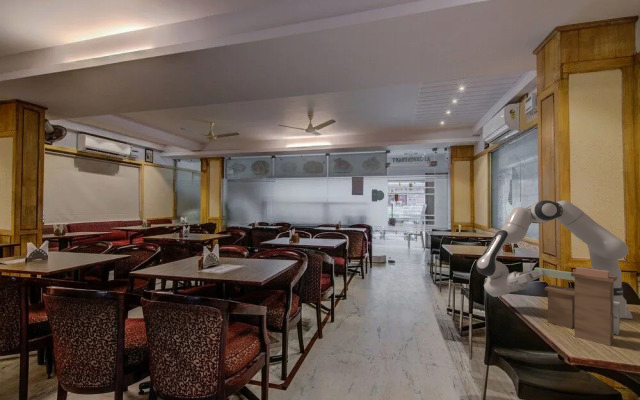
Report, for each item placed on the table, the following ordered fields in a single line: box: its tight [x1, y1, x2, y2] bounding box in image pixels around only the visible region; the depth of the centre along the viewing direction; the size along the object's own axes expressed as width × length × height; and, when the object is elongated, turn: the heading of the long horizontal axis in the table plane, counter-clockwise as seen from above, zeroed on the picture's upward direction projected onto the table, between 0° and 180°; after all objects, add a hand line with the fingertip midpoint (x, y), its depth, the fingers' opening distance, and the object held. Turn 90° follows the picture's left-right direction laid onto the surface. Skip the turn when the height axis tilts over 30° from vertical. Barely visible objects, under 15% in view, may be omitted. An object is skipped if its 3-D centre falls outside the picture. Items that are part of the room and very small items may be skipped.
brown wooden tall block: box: [571, 270, 617, 347], centre depth 130 cm, size 9×13×26 cm
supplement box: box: [614, 301, 621, 336], centre depth 139 cm, size 7×7×13 cm
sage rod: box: [533, 267, 575, 282], centre depth 147 cm, size 3×21×3 cm, turn 39°
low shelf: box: [544, 284, 575, 329], centre depth 147 cm, size 9×11×16 cm
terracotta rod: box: [575, 266, 609, 278], centre depth 129 cm, size 2×10×2 cm, turn 39°
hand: (544, 271), depth 152 cm, fingers closed on sage rod, 3 cm apart
